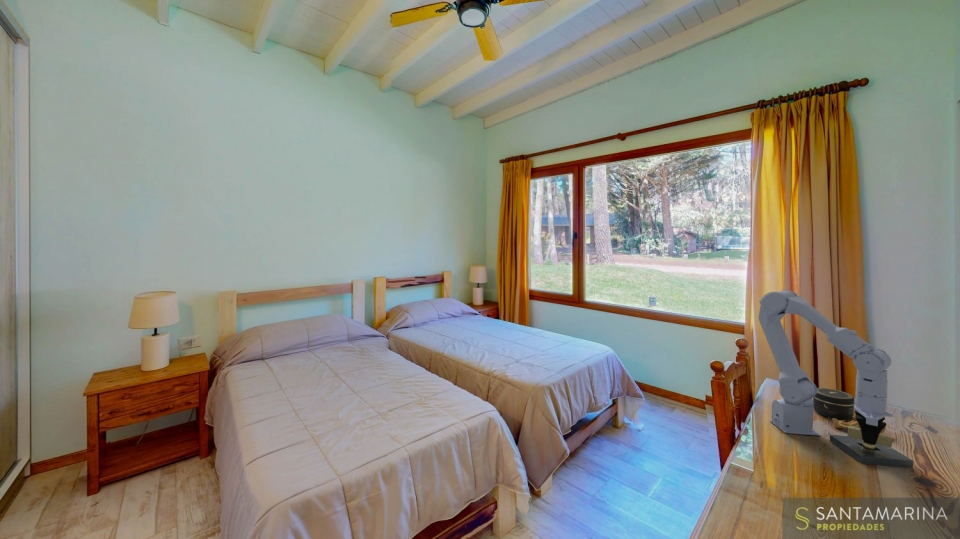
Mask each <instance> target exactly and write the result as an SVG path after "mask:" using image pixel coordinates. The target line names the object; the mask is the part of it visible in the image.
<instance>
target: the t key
mask: <svg viewBox="0 0 960 539" xmlns="http://www.w3.org/2000/svg"><path fill="white" fill-rule="evenodd" d="M847 436H848V437H852V438H856V439H860V440H862V447H863V448H865V449H867V450H875V445H872V444H868V443H864V441H863V438H862V433H861V428H860V427H859V428H858V427H853V426H849V425H848V428H847ZM876 444H880V445H884V446H888V447H891V448H893V437H892V435H891V434H887V433H884V432H883V433H880V434H879V437H878V440H877V442H876Z"/></svg>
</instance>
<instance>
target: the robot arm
mask: <svg viewBox="0 0 960 539" xmlns="http://www.w3.org/2000/svg"><path fill="white" fill-rule="evenodd" d="M759 304H760V308H759V310H758V311H759V312H758V318H757V319H758V321H759V325H760V326H761V329H762V331H763V333H764V334H763V335H764V337H765V339H766V342H767V344H768V346H769V349H770V350H771V353H772V356H773V359H774V361H775V363H776V366H777V367H778V370H779V373H778V374H779V376H778V379H777V380H778V383H779V390H778V391H779V394H780V396H781V398H780V399H773V401H772V403H771V419H770V420H769V421H770V423H772V424H773V425H774V426H775V427H777V428H778V429H780V430H781V431H782V432H784V433H785V434H793V435H794V434H795V435H807V436H817V437H818V436H819V437H820V436H821V433H820V432H818V431H817V430H816V429H814V407H813V406H814V403H813V397H814V396H815V395H816V394H817V388H818V387H817V385H816V384H815V383H814V382H813V381H812V380H811V379H810V378H809V376H808V373H806V371H804V370H803V369H801V366H800V364H799V362H798V359H797V357H796V354H795V352H794V349H793V348H792V345H791V343H790V340H789V338H788V335H787V333H786V331H785V328H784V326H783V323H782V319H784V317H785V315H786V314H789V315H790V314H791V315H797V316H800V317H802V318H803V319H804V320H805V321H807V322H809V324H811V325H813V326H814V327H816V328H817V329H819V330H820V331H821V332H823V333H824V334H826V340H827V341H828V342H829V343H830V344H832V345H833V347H835V348H837V350H839V351H841V352H842V353H843V354H844V355H845V356H847V357H848V358H849V359H851V360H852V363H853V365H854V367H855V368H856V375H855V397H854V403H855V404H854V414H855V415H854V418H855V421H856V422H858V424H859V426H860V427H859V428H861V433H862V438H863V441H864V443H868V444H872V445H875V444H876V442H877V440H878V437H879V434H880V432H881V431H882V430H883V429H884V428H885V427H887V426H888V425H887V422H885V420H886V418H885V417H889V418H893V417H894V414H893V412H891V411H887V404H888V403H887V402H888V400H887V399H888V380H889V379H888V370H887V369H888V368H889V367H890V366H891V365H892V359H891V357H890V355H889V354H887V353H886V351H885V350H884V349H880V348H876V346H875V345H874V344H869V343H868V342H866V341H865V340H864V339H862V338H861V337H860V336H858V335H857V334H858V332H857V331H856V330H854V329H851V330H850V329H849V328H848V327H839V326H837V324H834V322H832V321H831V320H829V319H828V317H826V316H825V315H823V314H822V313H821V312H820V311H818V309H816V308H815V307H814V306H812V304H810V303H808V301H807V300H805V298H803V297H802V296H800V295H798V294H797V293H795V291H792V290H789V289H783V290H780V291H779V290H778V291H770V292H767V293H765V294H764V295H763V297H761V299H760V300H759Z"/></svg>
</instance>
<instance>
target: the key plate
mask: <svg viewBox="0 0 960 539" xmlns="http://www.w3.org/2000/svg"><path fill="white" fill-rule="evenodd" d="M829 442H830V443H832V444H833V445H834V446H836V447H837V448H839V449H840V450H841V451H843V452H845V454H848V455H849V456H850V457H852V458H853V459H854V460H856V461H857V462H859V463H861V464H864V465H865V464H866V465H872V466H873V465H876V466H884V467H885V466H886V467H896V468H898V467H899V468H908V469H914V460H913V459H911V458H910V457H908V456H906V455H904V454H903V453H901V452H899V451H898V450H896V449H894V448H893V447H888V446H884V445H880V444H875V450H867V449H865V448H863V447H862V440H860V439H856V438H852V437H848V435H841V434H840V435H838V434H829Z"/></svg>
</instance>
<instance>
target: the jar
mask: <svg viewBox="0 0 960 539" xmlns="http://www.w3.org/2000/svg"><path fill="white" fill-rule="evenodd" d="M812 400H813V403H814V406H813V411H814V412H815V413H816V412H817V413H816V414H818V415H820V416H822V417H825V418H827V419H831V420H832V419H833V418H834V419H837V420H838V421H842V420H846V421H847V422H849V421H850V420H851V419H853V417H854V416H855V415H854V414H855V409H854V405H855V397H854V396H853V395H852V394H850V393H848V392H845V391H841V390H838V389H833V388H827V387H826V388H825V387H817V394H816V395H815V396H814V397H812ZM846 421H845V422H846Z"/></svg>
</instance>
